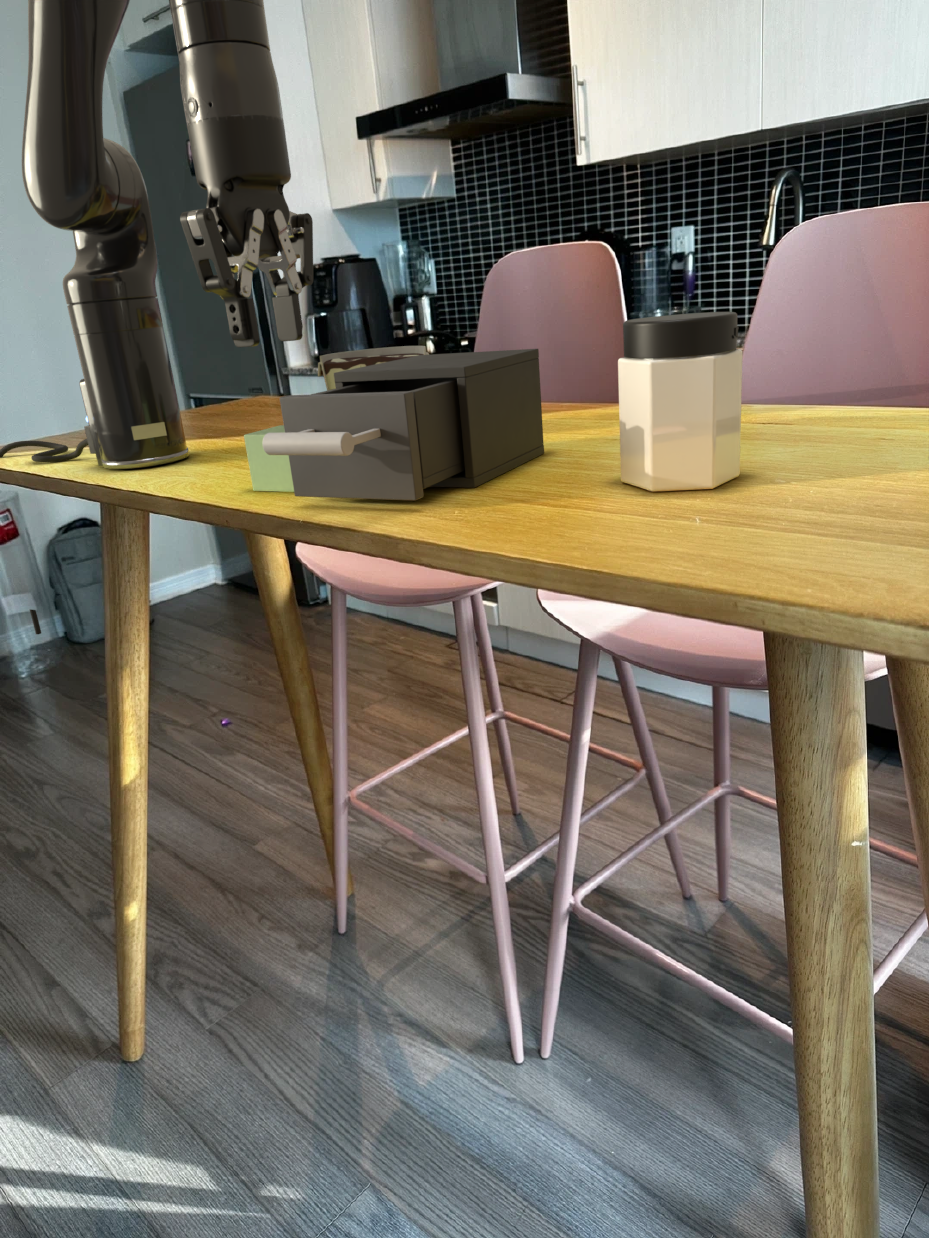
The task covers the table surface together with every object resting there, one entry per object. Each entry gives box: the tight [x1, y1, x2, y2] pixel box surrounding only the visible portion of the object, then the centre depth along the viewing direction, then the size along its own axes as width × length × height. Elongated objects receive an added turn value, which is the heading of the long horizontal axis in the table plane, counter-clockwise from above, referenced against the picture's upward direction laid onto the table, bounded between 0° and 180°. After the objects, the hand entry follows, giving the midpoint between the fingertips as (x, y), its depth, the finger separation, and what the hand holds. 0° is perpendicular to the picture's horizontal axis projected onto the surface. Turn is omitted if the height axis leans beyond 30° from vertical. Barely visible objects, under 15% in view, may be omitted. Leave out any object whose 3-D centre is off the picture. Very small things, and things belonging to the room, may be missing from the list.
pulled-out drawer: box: [263, 378, 465, 501], centre depth 70 cm, size 19×11×8 cm, turn 152°
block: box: [243, 424, 294, 493], centre depth 79 cm, size 5×5×5 cm
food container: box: [317, 345, 430, 391], centre depth 97 cm, size 12×6×10 cm, turn 84°
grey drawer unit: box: [334, 348, 545, 489], centre depth 79 cm, size 15×13×10 cm
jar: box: [617, 311, 743, 492], centre depth 66 cm, size 9×8×12 cm
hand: (270, 342), depth 76 cm, fingers open, 5 cm apart
